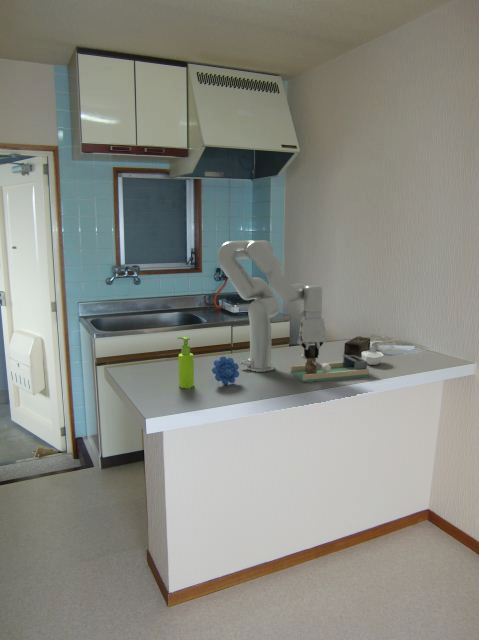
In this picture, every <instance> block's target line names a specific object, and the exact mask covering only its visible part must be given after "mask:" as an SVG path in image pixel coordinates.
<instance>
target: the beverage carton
mask: <svg viewBox="0 0 479 640" xmlns="http://www.w3.org/2000/svg"><path fill="white" fill-rule="evenodd" d="M370 348H371V337H362V336H359V335H358V336H355V337H353V338H352V339H350V340H348V341H346V342H345V343H344V348H343V350H344V351H343V354H345V355H347V356H352V355H355V356H357V357H360V356H362V352H363V351H369V350H370Z"/></svg>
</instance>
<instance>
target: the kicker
mask: <svg viewBox="0 0 479 640" xmlns="http://www.w3.org/2000/svg"><path fill="white" fill-rule="evenodd" d="M309 350H310V353H309V359H307V358H305V356H304V353H301V354H300V356H301V357H302V358H303V359H305V360H306V362H305V364H304V365H305V372H306V373H308V374H316V373H317V367H319V368H322V365H321V364H322V363H319V362H317V360H316V359H317V358H315V344H309Z"/></svg>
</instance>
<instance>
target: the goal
mask: <svg viewBox="0 0 479 640" xmlns="http://www.w3.org/2000/svg"><path fill="white" fill-rule="evenodd" d="M342 362H343V367H344V368H346V367H354V370H359V369H368V363H367V361H365V360H363V359H362V357H360V356H358V357H357V356H355V355H352V356H350V355H345V354H344V353H343V355H342Z"/></svg>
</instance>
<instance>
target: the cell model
mask: <svg viewBox="0 0 479 640" xmlns="http://www.w3.org/2000/svg"><path fill="white" fill-rule="evenodd" d="M361 359H363V360H365V361H367V365H369V366H370V365H371V366H377V365H379V364H380V363H381V362H382V361H383V360H384V354H383V352H381V351H377V350H376V349H374V348H371V349H369V350H367V351H363V352H362V354H361Z"/></svg>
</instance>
